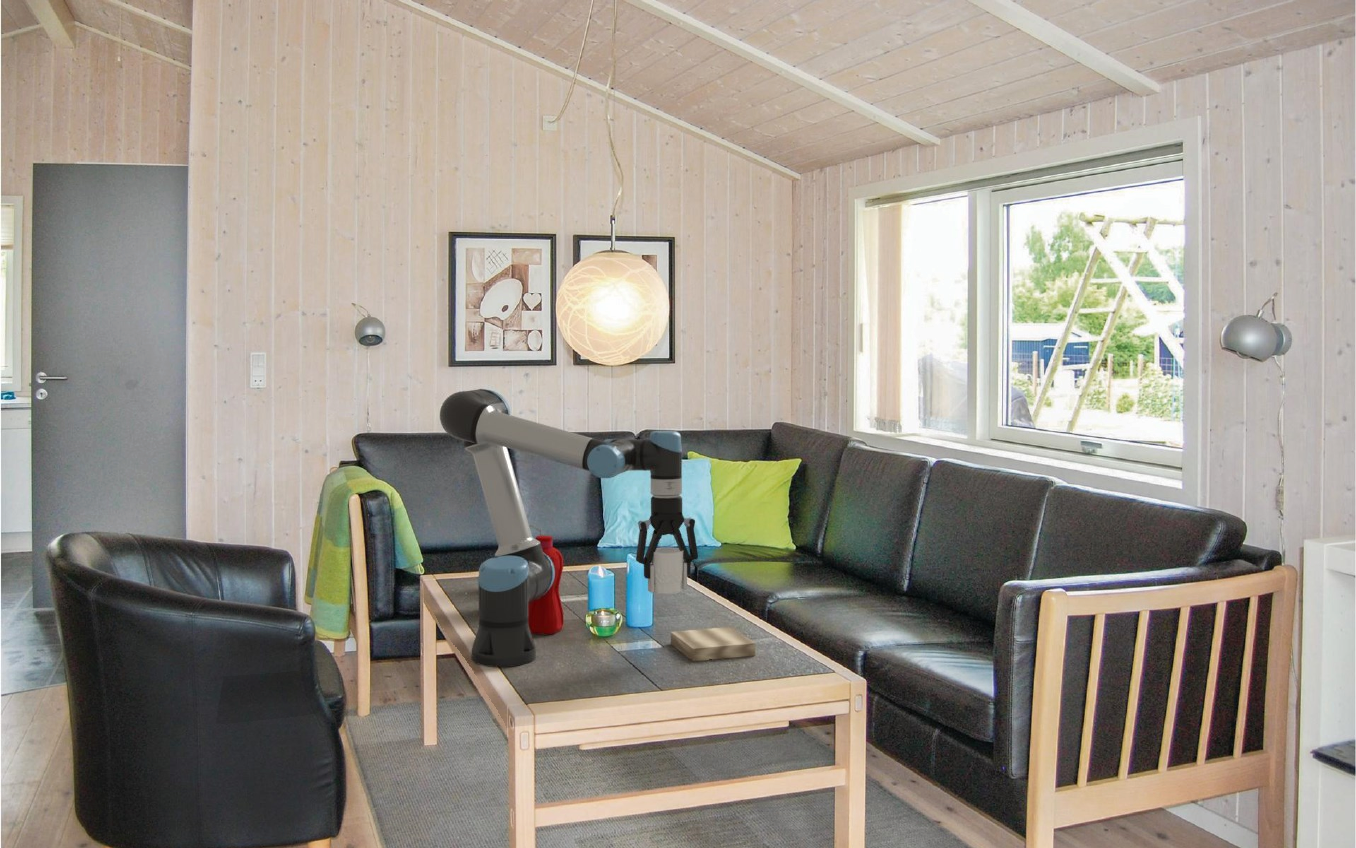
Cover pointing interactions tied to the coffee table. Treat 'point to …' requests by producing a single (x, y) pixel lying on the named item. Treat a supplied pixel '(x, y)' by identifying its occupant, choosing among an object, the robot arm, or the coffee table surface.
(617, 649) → the coffee table surface
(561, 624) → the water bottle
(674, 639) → the wooden base
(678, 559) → the white cup
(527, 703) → the coffee table surface
